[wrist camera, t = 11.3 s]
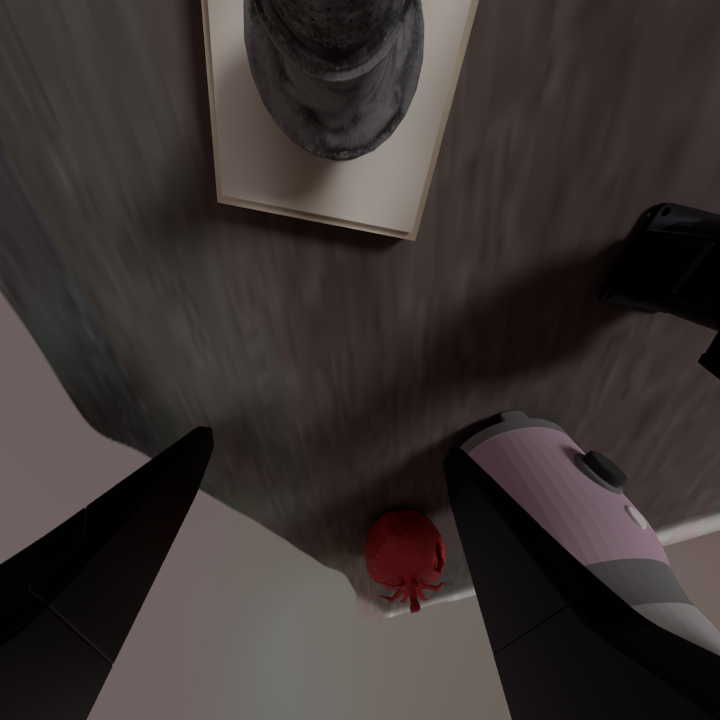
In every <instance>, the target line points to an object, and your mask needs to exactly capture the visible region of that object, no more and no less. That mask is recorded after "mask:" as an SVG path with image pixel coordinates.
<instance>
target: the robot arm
mask: <svg viewBox="0 0 720 720" xmlns="http://www.w3.org/2000/svg"><path fill="white" fill-rule="evenodd" d="M663 210H664V211H663ZM662 212H663V213H662ZM607 294H608V295H607ZM606 295H607V296H606ZM598 299H599V300H601V301H604V302H607V303H613V304H618V305H624V306H629V307H635V308H640V309H646V310H651V311H657V312H662V313H669V314H672V315H674V316H677V317H680V318H683V319H685V320H688V321H691V322H694V323H696V324H699V325H702V326H705V327H707V328H710V329H713V330H716V331H718V333H717V334H716V336H715V338H714V339H713V341H712V343H711V344H710V346H709V348H708V349H707V351H706V353H704V354H702V355H701V357H700V359H699V360H698V363H700V364H701V365H702V366H703V367H705V368H706V369H707V370H708V371H710V372H711V373H712V374H713V375H715V376H716V377H717V378H718V379H720V215H718V214H714V213H710V212H706V211H702V210H698V209H694V208H690V207H686V206H682V205H678V204H674V203H661V204H659V205H658V206H656V207H655V209H654V210H653V211H652V213H651V214H650V216H649V217H648V219H647V221H646V222H645V224H644V225H643V227H642V228H641V230H640V231H639V233H638V234H637V236H636V237H635V239H634V241H633V242H632V244H631V245H630V247H629V248H628V250H627V251H626V253H625V254H624V256H623V257H622V259H621V260H620V262H619V264H618V265H617V267H616V268H615V270H614V271H613V273H612V274H611V276H610V277H609V279H608V280H607V282H606V284H605V285H604V287H603V288H602V290H601V291H600V293H599V295H598ZM213 447H214V440H213V434H212V429H211V428H210V427H202V426H199V427H197V428H195V429H194V430H192V431H191V432H189V433H188V434H187V435H185V436H184V437H182V438H181V439H180V440H178V441H177V442H175V443H174V444H173V445H171V446H170V447H168V448H167V449H166V450H164V451H163V452H161V453H160V454H159V455H157V456H156V457H154V458H153V459H152V460H150V461H149V462H148V463H146V464H145V465H143V466H142V467H141V468H139V469H138V470H136V471H135V472H134V473H132V474H131V475H129V476H128V477H127V478H125V479H124V480H122V481H121V482H120V483H118V484H117V485H115V486H114V487H113V488H111V489H110V490H108V491H107V492H106V493H104V494H103V495H102V496H100V497H99V498H97V499H96V500H94V501H93V502H92V503H90V504H89V505H87V507H86V508H83V509H82V510H80V511H79V512H77V513H76V514H75V515H73V516H72V517H71V518H69V519H68V520H66V521H65V522H63V523H62V524H60V525H59V526H58V527H56V528H55V529H53V530H52V531H50V532H49V533H48V534H46V535H45V536H43V537H42V538H40V539H39V540H37V541H35V542H34V543H32V544H31V545H29V546H28V547H26V548H25V549H23V550H22V551H20V552H19V553H17V554H16V555H14V556H12V557H11V558H9V559H8V560H6V561H4V562H3V563H1V564H0V720H86V719H87V717H88V715H89V713H90V711H91V709H92V707H93V705H94V703H95V701H96V699H97V697H98V695H99V693H100V691H101V689H102V687H103V685H104V683H105V680H106V679H107V676H108V674H109V672H110V670H111V668H112V664H113V663H114V662H115V660H116V657H117V656H118V653H119V651H120V650H121V647H122V645H123V643H124V641H125V639H126V637H127V635H128V633H129V631H130V629H131V627H132V625H133V623H134V621H135V619H136V617H137V615H138V612H139V611H140V609H141V607H142V605H143V603H144V600H145V598H146V596H147V594H148V592H149V590H150V588H151V586H152V584H153V582H154V580H155V578H156V576H157V574H158V572H159V570H160V568H161V566H162V563H163V561H164V560H165V558H166V556H167V554H168V551H169V549H170V547H171V545H172V543H173V541H174V539H175V537H176V535H177V533H178V531H179V529H180V527H181V525H182V523H183V521H184V519H185V516H186V514H187V513H188V511H189V509H190V506H191V504H192V502H193V500H194V498H195V496H196V494H197V491H198V489H199V487H200V484H201V481H202V478H203V476H204V473H205V470H206V467H207V465H208V462H209V459H210V456H211V453H212V451H213ZM444 471H445V476H446V482H447V487H448V493H449V499H450V503H451V508H452V511H453V515H454V518H455V522H456V525H457V529H458V532H459V536H460V539H461V543H462V546H463V550H464V553H465V557H466V560H467V564H468V567H469V571H470V574H471V578H472V581H473V585H474V588H475V592H476V595H477V599H478V602H479V606H480V609H481V613H482V616H483V619H484V623H485V627H486V630H487V634H488V637H489V641H490V644H491V648H492V651H493V653H494V659H495V662H496V666H497V669H498V673H499V676H500V679H501V683H502V686H503V690H504V694H505V697H506V701H507V704H508V708H509V711H510V715H511V718H512V720H720V656H719V655H717V654H715V653H713V652H711V651H709V650H707V649H705V648H703V647H701V646H698V645H696V644H694V643H692V642H690V641H688V640H686V639H684V638H682V637H680V636H678V635H676V634H674V633H672V632H670V631H668V630H666V629H664V628H662V627H660V626H658V625H656V624H655V623H653V622H651V621H650V620H648V619H647V618H645V617H644V616H642V615H641V614H640V613H638V612H637V611H636V610H634V609H633V608H632V607H631V606H630V605H628V604H627V603H626V602H625V601H624V600H623V599H622V598H620V597H619V596H618V595H617V594H616V593H615V592H614V591H612V590H611V589H610V588H609V587H608V586H607V585H605V584H604V583H603V582H602V581H601V580H600V579H599V578H597V577H596V576H595V575H594V574H593V573H592V572H591V571H589V570H588V569H587V568H586V567H585V566H584V565H583V564H582V563H580V562H579V561H578V560H577V559H576V558H575V557H574V556H573V555H572V554H570V553H569V552H568V551H567V550H566V549H565V548H564V547H563V546H562V545H561V544H560V543H559V542H558V541H557V540H556V539H554V538H553V537H552V536H551V535H550V534H549V533H548V532H547V531H546V530H545V529H544V528H542V526H541V525H540V524H539V523H538V522H537V521H536V520H535V519H534V518H533V517H532V516H531V515H530V514H529V513H528V512H527V511H526V510H525V509H524V508H523V507H521V506H520V505H519V504H518V503H517V502H516V501H515V500H514V499H513V498H512V497H511V496H510V495H509V494H508V493H507V492H506V491H505V490H504V489H503V488H502V487H501V486H500V485H499V484H498V483H497V482H496V481H495V480H494V479H493V478H492V477H491V476H490V475H489V474H488V473H487V472H486V471H485V470H484V469H483V468H481V467H480V466H479V465H478V464H477V463H476V462H475V461H474V460H473V459H472V458H471V457H470V456H469V455H468V454H467V453H466V452H465V451H464V450H463V449H461V448H451V449H450V450H449V452H448V454H447V456H446V458H445V460H444Z"/></svg>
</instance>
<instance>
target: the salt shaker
mask: <svg viewBox="0 0 720 720" xmlns="http://www.w3.org/2000/svg"><path fill="white" fill-rule="evenodd" d="M243 11H244V42H245V46H246V51H247V56H248V61H249V66H250V71H251V75H252V77H253V80H254V82H255V85H256V87H257V90H258V92H259V95H260V97H261V100H262V102H263V104H264V105H265V107H266V109H267V110H268V112H269V113H270V115H271V116H272V118H273V119H274V121H275V123H276V124H277V126H278V127H279V128H280V129H281V130H282V131H283V132H284V133H285V134H286V135H287V136H288V137H289V138H290V139H291V140H292V141H293V142H294V143H295V144H296V145H298V146H299V147H301V148H303V149H305V150H306V151H308V152H310V153H311V154H313V155H315V156H318V157H323V158H327V159H331V160H335V161H342V160H352V159H356V158H358V157H360V156H363V155H365V154H367V153H370V152H372V151H374V150H375V149H376V148H377V147H379V146H380V145H381V144H382V143H383V142H385V141H386V140H387V139H388V138H389V137H391V135H392V134H393V132H394V131H395V130H396V128H397V127H398V125H399V124H400V123H401V121H402V120H403V118H404V117H405V116H406V113H407V111H408V109H409V106H410V104H411V102H412V99H413V97H414V95H415V92H416V90H417V86H418V81H419V76H420V72H421V67H422V63H423V53H424V18H423V11H422V4H421V0H244V2H243Z"/></svg>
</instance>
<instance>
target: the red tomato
mask: <svg viewBox="0 0 720 720" xmlns="http://www.w3.org/2000/svg"><path fill="white" fill-rule="evenodd" d="M365 560H366V566H367V571H368V573H369V575H370V577H371V579H372V580H373V581H375V582H376V583H379V584H381V585H383V586H384V587H386V588H387V589H390V590H392V591H394V592H396V593H395V595H394V596H393V597H392V598H390V597H385V596H381V597H383V598H385V599H386V600H388V601H394V600H395V599H396V598H398V597H399V596H400V595H401V594H404V598H403V601H402V600H401V601H400V602H402V603H405V602H406V600H407V598H408V596H409V597H410V602H411V605H410V611H411V613H414V612H418V611H420V605H419V602H418V601H417V595H418V596H419V597H420V599H421V600H429V599H425V597H424V595H423V593H422V591H421V590H422V589H432V590H435V591H437V590H439V589H440V587H441V586H442V585H443V584H445V583H443V582H442V583H440V584H439V585H438V586H432V585H430V584H431V583H432V582H434V581H435V580H436V579H438V578H439V577H440V575H441V571H442V570H443V567H444V564H445V560H446V555H445V546H444V543H443V540H442V537H441V535H440V533H439V531H438V530H437V528H436V527H435V525H434V524H433V523H432V522H431V520H430V519H429V518H428V517H426V516H425V515H424V514H422V513H420V512H417V511H415V510H401V511H395V510H393V511H388V512H386V513H384V514H383V515H382V516H381V517H380V518H379V519H378V520H377V521H376V522H375V523H374V524H373V526H372V527H371V528H370V530H369V534H368V538H367V542H366V546H365ZM445 585H446V584H445Z"/></svg>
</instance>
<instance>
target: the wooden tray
mask: <svg viewBox="0 0 720 720" xmlns="http://www.w3.org/2000/svg"><path fill="white" fill-rule="evenodd" d="M243 2H244V0H201V5H202V17H203V29H204V42H205V54H206V66H207V79H208V91H209V103H210V116H211V128H212V140H213V153H214V165H215V177H216V190H217V202H218V203H223V204H228V205H233V206H238V207H244V208H249V209H254V210H259V211H264V212H269V213H274V214H280V215H285V216H290V217H295V218H300V219H305V220H310V221H316V222H321V223H326V224H331V225H336V226H341V227H346V228H352V229H357V230H362V231H367V232H372V233H377V234H382V235H388V236H393V237H398V238H403V239H408V240H413V241H415V240H416V236H417V233H418V229H419V225H420V221H421V218H422V214H423V210H424V206H425V202H426V199H427V195H428V191H429V187H430V183H431V180H432V176H433V172H434V168H435V165H436V161H437V157H438V153H439V149H440V146H441V142H442V138H443V134H444V130H445V127H446V123H447V119H448V115H449V112H450V108H451V104H452V100H453V96H454V93H455V89H456V85H457V81H458V77H459V74H460V70H461V66H462V62H463V59H464V55H465V51H466V47H467V43H468V40H469V36H470V32H471V28H472V24H473V21H474V17H475V13H476V9H477V6H478V2H479V0H421V4H422V11H423V18H424V53H423V63H422V67H421V72H420V76H419V81H418V86H417V90H416V92H415V95H414V97H413V99H412V102H411V104H410V106H409V109H408V111H407V113H406V116H405V117H404V118H403V120H402V121H401V123H400V124H399V125H398V127H397V128H396V130H395V131H394V132H393V134H392V135H391V137H389V138H388V139H387V140H386V141H385V142H383V143H382V144H381V145H380V146H379V147H377V148H376V149H375V150H374V151H372V152H370V153H367V154H365V155H363V156H360V157H358V158H356V159H352V160H342V161H335V160H331V159H327V158H323V157H318V156H315V155H313V154H311V153H310V152H308V151H306V150H305V149H303V148H301V147H299V146H298V145H296V144H295V143H294V142H293V141H292V140H291V139H290V138H289V137H288V136H287V135H286V134H285V133H284V132H283V131H282V130H281V129H280V128H279V127H278V126H277V124H276V123H275V121H274V119H273V118H272V116H271V115H270V113H269V112H268V110H267V109H266V107H265V105H264V104H263V102H262V100H261V97H260V95H259V92H258V90H257V87H256V85H255V82H254V80H253V77H252V75H251V71H250V66H249V61H248V56H247V51H246V46H245V42H244V11H243Z"/></svg>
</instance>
